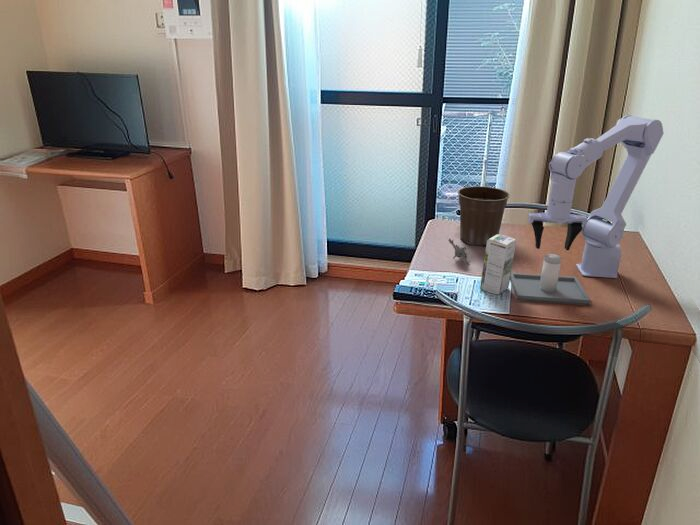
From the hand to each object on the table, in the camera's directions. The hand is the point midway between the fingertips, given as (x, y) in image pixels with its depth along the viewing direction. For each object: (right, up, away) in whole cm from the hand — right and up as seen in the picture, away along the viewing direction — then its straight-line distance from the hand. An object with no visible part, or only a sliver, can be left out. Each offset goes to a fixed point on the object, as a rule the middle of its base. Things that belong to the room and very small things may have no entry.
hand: (552, 248), depth 145 cm
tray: (-2, -12, -1) cm, 12 cm away
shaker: (-1, -11, -1) cm, 11 cm away
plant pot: (-12, +3, +34) cm, 36 cm away
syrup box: (-16, -11, 0) cm, 19 cm away
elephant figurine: (-22, -3, +18) cm, 28 cm away
